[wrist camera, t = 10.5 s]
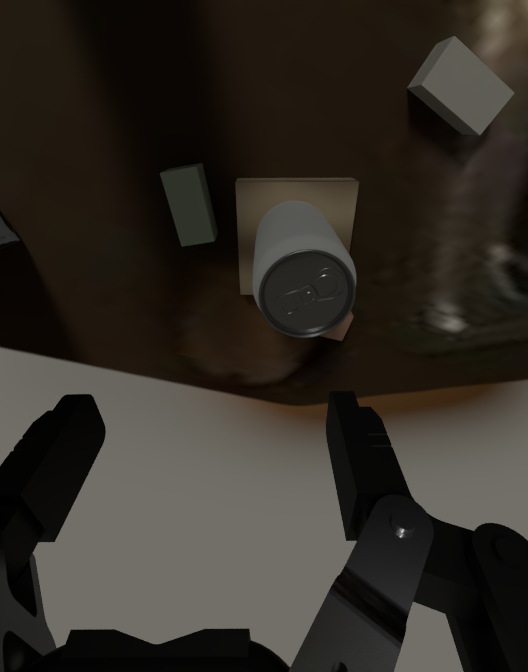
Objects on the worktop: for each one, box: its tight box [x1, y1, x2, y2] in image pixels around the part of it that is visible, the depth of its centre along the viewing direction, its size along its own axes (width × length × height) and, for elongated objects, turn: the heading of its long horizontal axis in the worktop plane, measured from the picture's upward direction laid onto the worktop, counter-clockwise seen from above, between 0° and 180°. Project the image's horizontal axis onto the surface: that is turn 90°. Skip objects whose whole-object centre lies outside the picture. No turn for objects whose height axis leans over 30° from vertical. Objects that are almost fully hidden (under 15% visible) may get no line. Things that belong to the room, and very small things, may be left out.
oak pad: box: [235, 178, 359, 295], centre depth 31 cm, size 10×10×2 cm
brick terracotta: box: [320, 311, 353, 341], centre depth 35 cm, size 6×3×3 cm, turn 75°
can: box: [252, 201, 356, 338], centre depth 24 cm, size 6×6×12 cm
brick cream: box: [408, 36, 514, 135], centre depth 25 cm, size 6×3×3 cm
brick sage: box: [160, 163, 218, 247], centre depth 29 cm, size 6×3×3 cm, turn 9°
